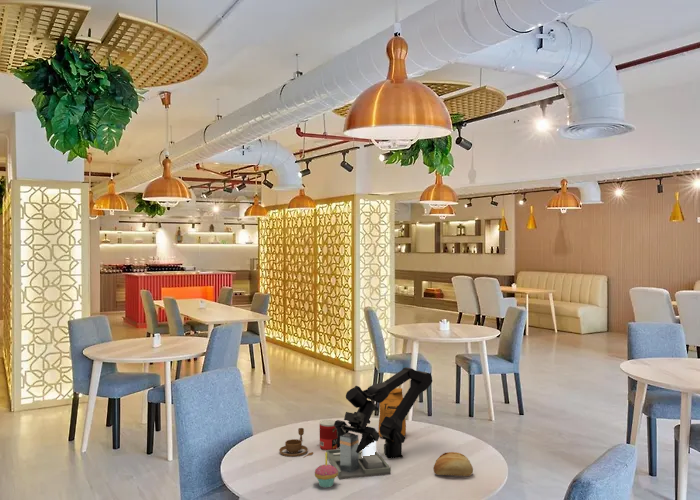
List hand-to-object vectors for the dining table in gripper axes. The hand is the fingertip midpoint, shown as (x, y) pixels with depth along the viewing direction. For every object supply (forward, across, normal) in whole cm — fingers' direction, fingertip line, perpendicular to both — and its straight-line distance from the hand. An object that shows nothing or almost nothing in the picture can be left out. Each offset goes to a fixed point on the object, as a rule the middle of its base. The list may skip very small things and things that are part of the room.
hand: (347, 450), depth 227 cm
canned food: (-6, -23, +19) cm, 31 cm away
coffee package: (-27, -10, +40) cm, 49 cm away
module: (+5, 0, +6) cm, 8 cm away
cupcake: (+16, +1, -3) cm, 16 cm away
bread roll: (-10, +33, +23) cm, 41 cm away
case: (0, -2, +13) cm, 13 cm away
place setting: (0, -32, +13) cm, 35 cm away
